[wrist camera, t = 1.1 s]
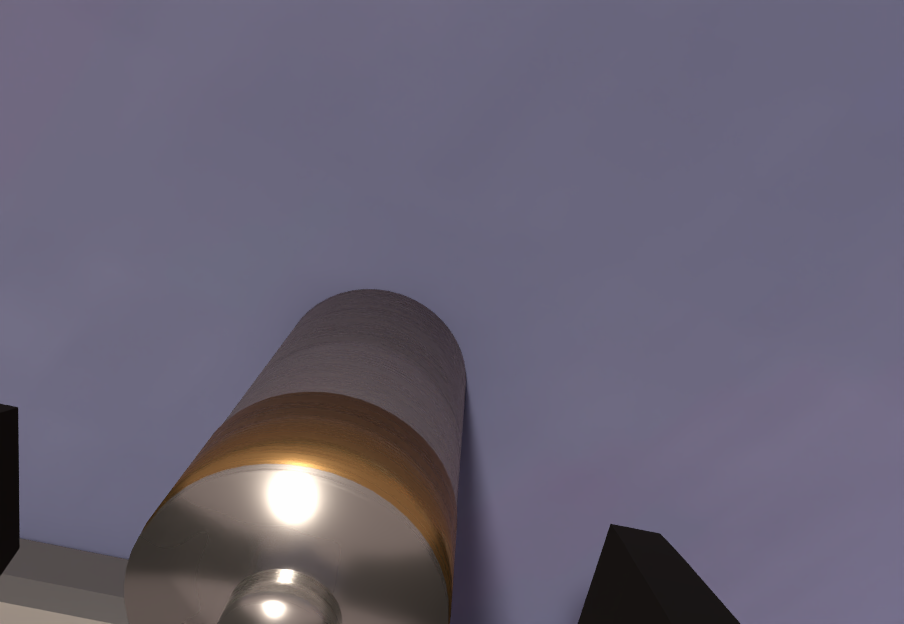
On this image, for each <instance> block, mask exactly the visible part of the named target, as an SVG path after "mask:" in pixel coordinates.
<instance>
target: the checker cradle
mask: <svg viewBox="0 0 904 624" xmlns="http://www.w3.org/2000/svg"><path fill="white" fill-rule="evenodd" d="M19 540H20V548H19V550H18V551H17V553H16V554H15V556H14V557H13V559H12V560H11V561H10V563H9V564H8V566H7V567H6V569H5V570H4V572H3V573H2V574H1V576H0V624H129V621H128V618H127V613H126V607H125V602H124V581H125V574H126V567H127V564H128V561H129V560H127V559H122V558H117V557H112V556H107V555H102V554H97V553H92V552H87V551H82V550H76V549H71V548H66V547H61V546H56V545H51V544H46V543H41V542H36V541H31V540H26V539H21V538H19Z"/></svg>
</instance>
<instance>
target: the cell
mask: <svg viewBox="0 0 904 624" xmlns="http://www.w3.org/2000/svg"><path fill="white" fill-rule="evenodd" d="M465 387H466V372H465V364H464V360H463V356H462V353H461V350H460V348H459V345H458V343H457V341H456V339H455V337H454V336H453V334H452V333H451V331H450V330H449V328H448V327H447V326H446V325H445V323H444V322H443V321H442V320H441V319H440V318H439V317H438V316H437V315H436V314H435V313H434V312H432V311H431V310H430V309H428V308H427V307H425V306H424V305H422V304H421V303H419V302H417V301H415V300H413V299H411V298H409V297H406V296H404V295H401V294H398V293H394V292H390V291H385V290H377V289H361V290H352V291H348V292H344V293H340V294H337V295H335V296H332V297H330V298H328V299H326V300H324V301H322V302H320V303H319V304H317V305H316V306H315V307H313V308H312V309H311V310H309V311H308V312H307V313H306V314H305V315H304V316H303V317H302V318H301V319H300V321H299V322H298V323H297V325H296V326H295V328H294V329H293V330H292V332H291V333H290V334H289V336H288V337H287V338H286V340H285V341H284V342H283V344H282V345H281V346H280V348H279V349H278V350H277V352H276V353H275V354H274V356H273V357H272V358H271V360H270V361H269V362H268V364H267V365H266V366H265V368H264V369H263V370H262V372H261V373H260V375H259V376H258V377H257V379H256V380H255V381H254V383H253V384H252V385H251V387H250V388H249V389H248V391H247V392H246V393H245V395H244V396H243V397H242V399H241V400H240V401H239V403H238V404H237V405H236V407H235V408H234V409H233V411H232V412H231V413H230V415H229V416H228V417H227V419H226V420H225V422H224V423H223V424H222V425H221V426H220V427H219V428H218V429H217V430H216V431H215V432H214V434H213V435H212V436H211V438H210V439H209V440H208V442H207V443H206V444H205V446H204V447H203V448H202V450H201V451H200V452H199V454H198V455H197V456H196V458H195V459H194V460H193V462H192V463H191V464H190V466H189V467H188V468H187V470H186V471H185V472H184V474H183V475H182V476H181V478H180V479H179V480H178V482H177V483H176V484H175V486H174V487H173V488H172V490H171V491H170V492H169V494H168V495H167V496H166V498H165V499H164V500H163V502H162V503H161V504H160V506H159V507H158V508H157V510H156V511H155V512H154V514H153V515H152V516H151V518H150V519H149V520H148V522H147V523H146V525H145V527H144V529H143V531H142V533H141V534H140V536H139V538H138V540H137V542H136V543H135V545H134V547H133V549H132V551H131V554H130V558H129V561H128V564H127V567H126V574H125V581H124V602H125V607H126V613H127V618H128V621H129V624H449V623H450V617H451V603H452V589H453V574H454V560H455V546H456V532H457V496H458V483H459V469H460V455H461V442H462V428H463V414H464V401H465Z"/></svg>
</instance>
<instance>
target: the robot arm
mask: <svg viewBox="0 0 904 624" xmlns="http://www.w3.org/2000/svg"><path fill="white" fill-rule="evenodd" d="M19 548H20V540H19V445H18V407H14V406H9V405H4V404H0V576H1V574H2V573H3V572H4V570H5V569H6V567H7V566H8V564H9V563H10V561H11V560H12V559H13V557H14V556H15V554H16V553H17V551H18V550H19ZM578 624H740V623H739V621H738V620H737V619H736V618H735V617H734V616H733V615H732V613H731V612H730V611H729V610H728V609H727V608H726V607H725V605H724V604H723V603H722V602H721V601H720V600H719V599H718V597H717V596H716V595H715V594H714V593H713V592H712V591H711V589H710V588H709V587H708V586H707V585H706V584H705V583H704V581H703V580H702V579H701V578H700V577H699V576H698V575H697V573H696V572H695V571H694V570H693V569H692V568H691V567H690V565H689V564H688V563H687V562H686V561H685V560H684V559H683V558H682V556H681V555H680V554H679V553H678V552H677V551H676V550H675V549H674V548H673V547H672V545H671V544H670V543H669V542H668V541H667V540H666V539H665V538H664V537H663V536H662V535H661V534H659V533H654V532H649V531H644V530H639V529H634V528H629V527H624V526H619V525H614V524H610V527H609V530H608V533H607V537H606V540H605V543H604V546H603V549H602V552H601V555H600V558H599V561H598V564H597V567H596V570H595V573H594V576H593V579H592V582H591V585H590V588H589V591H588V594H587V597H586V600H585V603H584V607H583V610H582V613H581V616H580V619H579V622H578Z"/></svg>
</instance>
